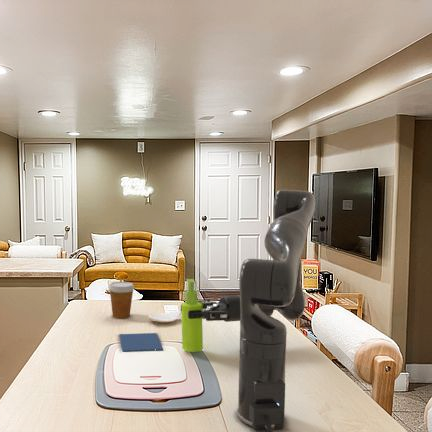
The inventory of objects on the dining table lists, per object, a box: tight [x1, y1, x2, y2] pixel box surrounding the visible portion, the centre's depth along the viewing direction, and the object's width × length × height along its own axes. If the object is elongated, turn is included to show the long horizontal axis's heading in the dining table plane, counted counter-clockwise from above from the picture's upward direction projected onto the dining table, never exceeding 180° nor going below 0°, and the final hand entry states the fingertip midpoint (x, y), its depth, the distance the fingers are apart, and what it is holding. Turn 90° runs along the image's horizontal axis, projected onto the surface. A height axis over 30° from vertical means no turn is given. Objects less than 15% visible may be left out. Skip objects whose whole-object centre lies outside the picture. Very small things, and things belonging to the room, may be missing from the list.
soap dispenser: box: [180, 278, 204, 353], centre depth 125 cm, size 6×7×20 cm
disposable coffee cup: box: [108, 281, 135, 319], centre depth 160 cm, size 10×10×12 cm
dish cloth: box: [119, 332, 164, 353], centre depth 133 cm, size 14×12×1 cm
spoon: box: [147, 309, 182, 323], centre depth 159 cm, size 9×32×4 cm, turn 121°
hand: (184, 311), depth 124 cm, fingers closed on soap dispenser, 6 cm apart
